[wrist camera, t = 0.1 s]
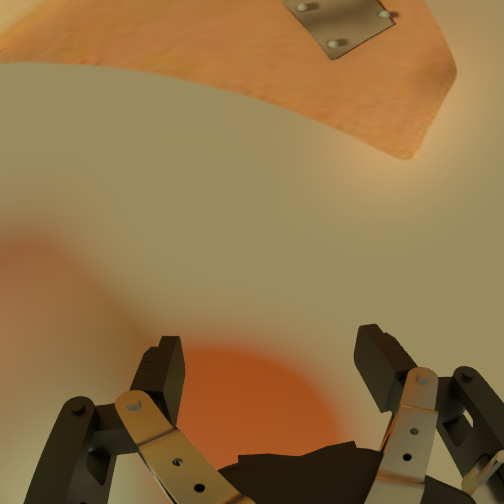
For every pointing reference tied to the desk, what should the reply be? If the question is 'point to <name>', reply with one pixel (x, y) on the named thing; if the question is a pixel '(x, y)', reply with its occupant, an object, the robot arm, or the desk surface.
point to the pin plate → (339, 22)
